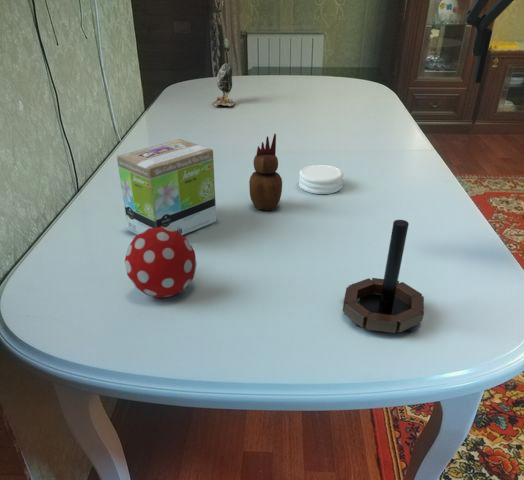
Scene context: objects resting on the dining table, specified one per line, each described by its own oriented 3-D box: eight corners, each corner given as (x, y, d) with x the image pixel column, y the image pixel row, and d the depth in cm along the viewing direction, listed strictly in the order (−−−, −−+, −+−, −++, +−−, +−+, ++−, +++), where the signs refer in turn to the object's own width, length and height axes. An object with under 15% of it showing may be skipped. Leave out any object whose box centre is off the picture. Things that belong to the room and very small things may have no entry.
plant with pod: (240, 101, 179) (238, 35, 166) (231, 109, 171) (228, 40, 158) (218, 99, 181) (214, 34, 168) (208, 107, 172) (203, 39, 159)
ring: (421, 293, 80) (423, 283, 79) (422, 336, 71) (424, 326, 70) (347, 284, 82) (348, 274, 81) (339, 325, 73) (340, 315, 72)
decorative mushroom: (138, 211, 86) (144, 215, 73) (197, 240, 90) (213, 249, 77) (112, 270, 88) (113, 285, 74) (171, 296, 92) (182, 314, 78)
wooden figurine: (283, 203, 110) (285, 131, 100) (278, 214, 105) (279, 139, 96) (253, 200, 111) (252, 128, 101) (247, 211, 107) (245, 137, 97)
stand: (411, 302, 80) (430, 212, 70) (411, 332, 74) (433, 238, 64) (359, 297, 81) (372, 208, 72) (356, 326, 75) (369, 233, 66)
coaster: (345, 194, 113) (347, 179, 111) (301, 195, 113) (302, 180, 111) (337, 178, 121) (339, 163, 119) (296, 179, 121) (297, 164, 118)
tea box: (159, 248, 94) (148, 168, 85) (127, 231, 99) (113, 155, 90) (218, 222, 103) (214, 147, 93) (186, 208, 108) (178, 136, 99)
